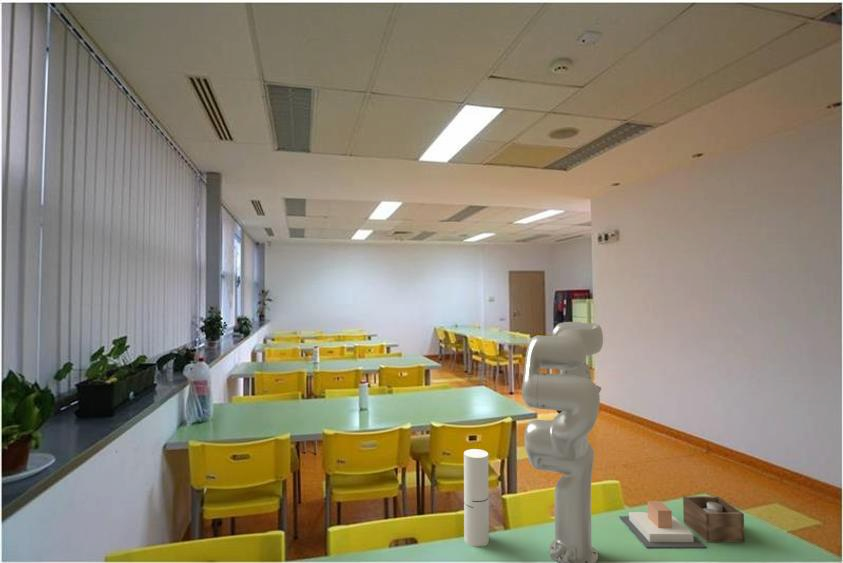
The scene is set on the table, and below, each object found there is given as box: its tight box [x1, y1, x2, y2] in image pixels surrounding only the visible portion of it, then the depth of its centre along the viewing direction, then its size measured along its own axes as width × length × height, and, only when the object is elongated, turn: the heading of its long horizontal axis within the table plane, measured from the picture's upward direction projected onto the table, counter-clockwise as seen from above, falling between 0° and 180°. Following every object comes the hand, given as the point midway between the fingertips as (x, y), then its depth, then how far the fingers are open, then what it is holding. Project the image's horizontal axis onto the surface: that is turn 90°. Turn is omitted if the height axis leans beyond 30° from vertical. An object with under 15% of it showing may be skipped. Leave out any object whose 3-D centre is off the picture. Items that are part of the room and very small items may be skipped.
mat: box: [618, 515, 707, 549], centre depth 132 cm, size 17×17×1 cm
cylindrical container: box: [463, 448, 490, 547], centre depth 128 cm, size 7×7×25 cm
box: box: [682, 495, 745, 543], centre depth 132 cm, size 11×11×8 cm
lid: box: [628, 500, 694, 542], centre depth 132 cm, size 13×13×7 cm
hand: (574, 413), depth 141 cm, fingers open, 9 cm apart
